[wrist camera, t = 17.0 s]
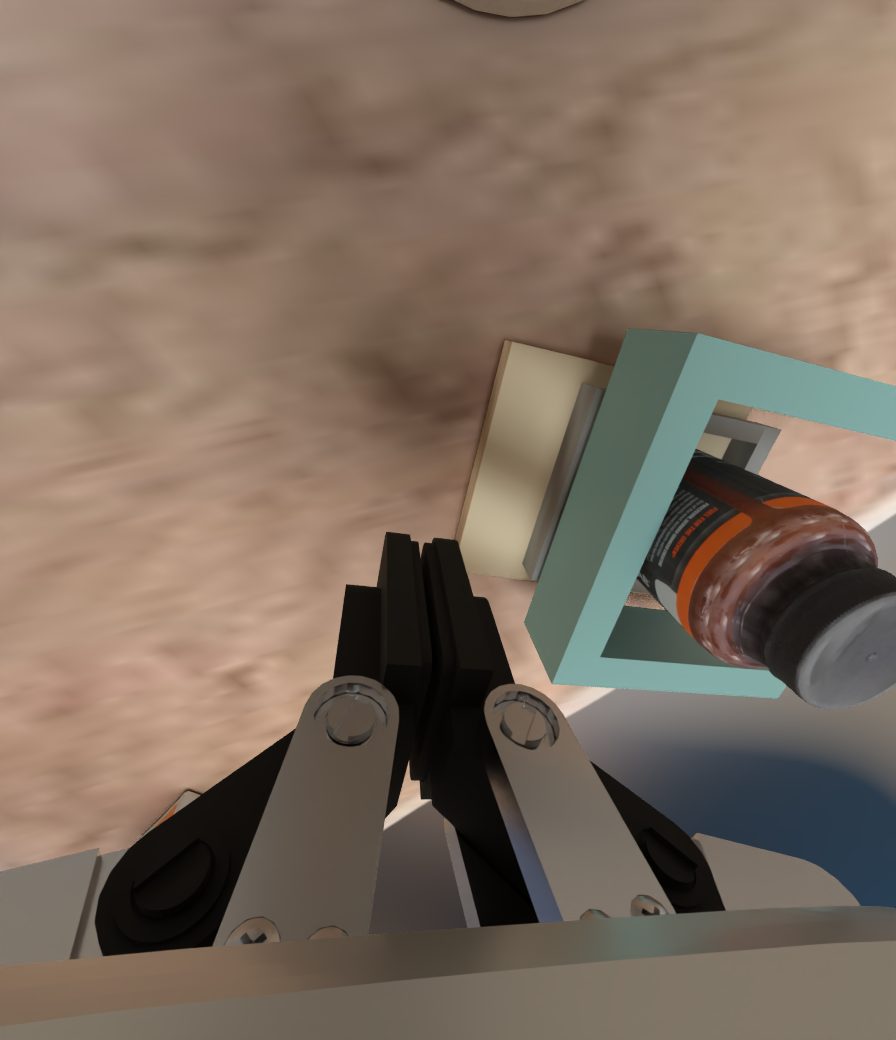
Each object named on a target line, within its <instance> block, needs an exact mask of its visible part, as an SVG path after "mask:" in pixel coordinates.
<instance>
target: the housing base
mask: <svg viewBox="0 0 896 1040" xmlns="http://www.w3.org/2000/svg"><path fill="white" fill-rule="evenodd" d="M614 367H615V366H612V365H608V364H604V363H600V362H595V361H591V360H587V359H583V358H579V357H575V356H570V355H566V354H562V353H558V352H554V351H549V350H545V349H541V348H537V347H533V346H528V345H524V344H520V343H516V342H512V341H507V340H505V342H504V346H503V350H502V354H501V358H500V362H499V366H498V370H497V374H496V378H495V382H494V386H493V390H492V394H491V398H490V402H489V406H488V410H487V414H486V418H485V422H484V426H483V430H482V434H481V438H480V442H479V446H478V450H477V454H476V458H475V462H474V466H473V470H472V473H471V477H470V481H469V485H468V489H467V493H466V497H465V501H464V505H463V509H462V513H461V517H460V521H459V525H458V529H457V533H456V537H455V540H457V541H458V543H459V547H460V550H461V554H462V557H463V561H464V565H465V568H466V572H467V573H468V574H476V575H485V576H494V577H502V578H511V579H519V580H528V581H537V582H539V579H540V576H541V573H542V570H543V567H544V565H545V562H546V559H547V556H548V553H549V551H550V548H551V545H552V542H553V539H554V536H555V534H556V531H557V528H558V525H559V522H560V519H561V517H562V514H563V511H564V508H565V505H566V502H567V500H568V497H569V494H570V491H571V488H572V485H573V483H574V480H575V477H576V474H577V471H578V469H579V466H580V463H581V460H582V457H583V454H584V452H585V449H586V446H587V443H588V440H589V437H590V435H591V432H592V429H593V426H594V423H595V420H596V418H597V415H598V412H599V409H600V406H601V403H602V401H603V398H604V395H605V392H606V389H607V387H608V384H609V381H610V378H611V375H612V372H613V370H614ZM751 408H752V407H749V406H745V405H741V404H736V403H732V402H728V401H724V400H719V399H718V401H717V404H716V406H715V408H714V410H713V412H712V415H711V417H710V419H709V421H708V423H707V425H706V428H705V430H704V432H703V434H702V436H701V438H700V441H699V443H698V445H697V447H696V449H698V450H701V451H703V452H705V453H707V454H710V455H712V456H714V457H717V458H719V459H721V460H724V461H726V462H728V463H731V464H733V465H735V466H738V467H741V468H742V469H744V470H747V471H749V472H752V473H754V474H757V475H758V473H759V471H760V469H761V467H762V465H763V463H764V461H765V459H766V458H767V456H768V454H769V452H770V450H771V448H772V446H773V444H774V443H775V441H776V439H777V437H778V435H779V433H780V431H781V430H780V429H777V428H773V427H770V426H767V425H763V424H760V423H756V422H752V421H748V420H746V418H747V416H748V414H749V412H750V410H751ZM630 592H631V593H640V594H648V595H651V594H650V593H649V592H648V591H647V590H646V588H645V587H644V586H643V585H642V584H641V583H640V582H639V581H638V580H637V579H636V580H635V582H634V584H633V586H632V589H631V591H630Z"/></svg>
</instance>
